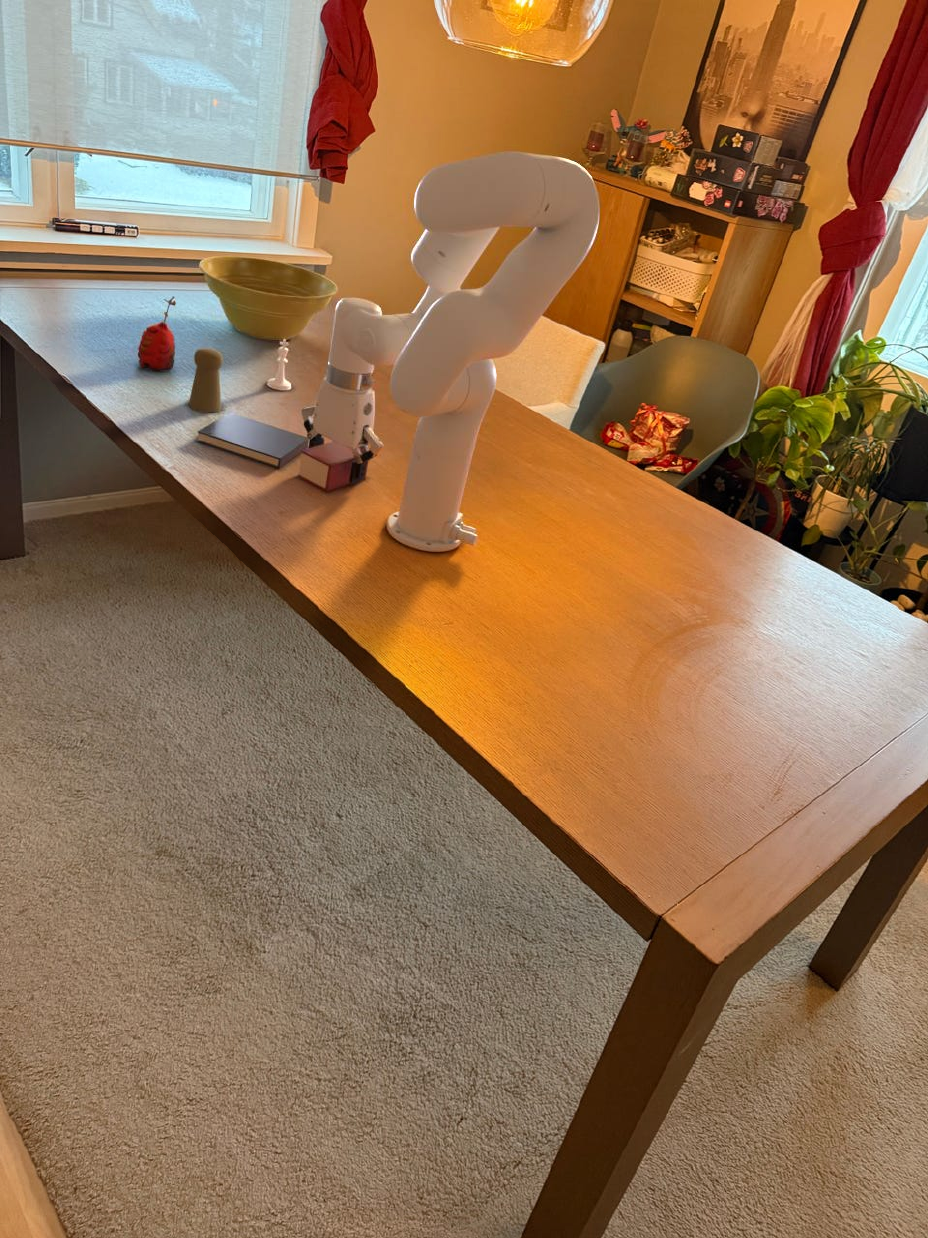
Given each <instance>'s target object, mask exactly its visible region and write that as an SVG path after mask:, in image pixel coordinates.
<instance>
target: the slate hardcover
mask: <svg viewBox="0 0 928 1238" xmlns="http://www.w3.org/2000/svg"><path fill="white" fill-rule="evenodd" d="M197 433H198V439H196V442H197V443H200V444H203V445H206V446H208V447H212V448H214V449H219V450H221V451H224V452H227V453H230V454H234V455H236V456H239V457H242V458H244V459H248V460H251V461H254V462H257V463H261V464H264V465H267V466H270V467H272V468H276V469H282V468H283V467H284V466H285V465H287V464H288V463H289V462H291V461H292V460H293V459H295V458H296V457H298V456H299V455H301V454H302V453H301V450H305V449H308V448H309V441H310V440H309V439H308V438H307V436H304V435H301V434H298V433H295V432H292V431H289V430H286V429H283V428H279V427H276V426H273V425H271V424H268V423H265V422H262V421H259V420H255V419H253V418H249V417H246V416H243V415H239V414H236V413H233V412H231V411H230V412H229V413H227V414H225V415H223V416H222V417H220V418H218V419H216V420H214V421H213V422H211V423H210V424H207V425H206V426H204V427H202V428H200V429H199V430H197Z"/></svg>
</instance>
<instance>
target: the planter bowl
mask: <svg viewBox="0 0 928 1238" xmlns="http://www.w3.org/2000/svg"><path fill="white" fill-rule="evenodd" d="M198 268H199V269H200V271H201V272H202V273H203V275H204V278H205V281H206V284H207V286H208V288H209V290H210V291H211V292H212V293H213V294H214V295H215V296H216V297H217V298H218V299H219V300H218V301H219V304H220V305H221V309H222V310H223V312H224V315H225V316H226V319H227V321H228V322H229V323H230V325H231V326H233V327H234V328H235V329H236V330H237V331H239V332H240V333H241V334H244V335H247V336H250V337H254V338H256V339H262V340H267V341H283V339H286V341H287V340H291V339H293V338H294V337H297V336H299V335H300V334H302V332H303V331H304V330H305V329H306V328H307V326H308V325H309V323H310V322H311V320H312V319H313V317H314V315H316V314H317V313H319V312H322V311H323V310H324V309H326V307H327V306H328V305H329V303H330V301H331V299H332V298H333V296H334V295H337V294H338V292H339V287H338V286H337V284H336V283H335V282H334V281H332V280H331V279H329V278H328V277H326V276H325V275H322V274H320V273H318V272H315V271H313V270H310V269H308V268H304V267H300V266H297V265H294V264H290V263H287V262H282V261H277V260H271V259H267V258H260V257H251V256H241V255H240V256H239V255H220V256H219V255H218V256H212V257H207V258H205V259H202V260H201V261H200V262H199V263H198Z"/></svg>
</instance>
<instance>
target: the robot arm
mask: <svg viewBox="0 0 928 1238" xmlns="http://www.w3.org/2000/svg"><path fill="white" fill-rule="evenodd" d="M413 207H414V212H415V213H414V214H415V217H416V219H417V221H418V222H419V223H420V225H421V227H422V228H424V231H423V233H422V234H421V236H420V238H419V239H418V241H417V243H416V244H415V246H414V247H413V249H412V251H411V255H410V256H411V257H410V260H411V261H410V262H411V264H412V267H413V270H414V271H415V272H416V274H417V275H418V277H419V278H420V279H421V280H422V281H423V283H425V284H426V285H428V286H427V288H426V291H425V293H424V294H423V296H422V297H421V299H420V300H419V302H418V303H417V306H416V307H415V308H414V309H413V311H412V312H409V313H408V312H407V313H395V314H383V311H382V309H381V307H380V306H379V305H378V304H376V303H375V302H373V301H371V300H367V299H364V298H359V297H344V298H341V299H340V300H339V301H337V304H336V306H335V311H334V317H333V325H332V333H331V339H330V347H329V355H328V362H327V368H326V375H325V376H324V377H323V379H322V381H321V384H320V387H319V390H318V393H317V398H316V401H315V405H314V406H308V407H304V408H301V415H302V419H303V421H304V422H303V426H304V428H305V431H306V433H307V434H306V437H307V438H308V439H309V441H308V448H311V447H315V446H318V445H322V444H325V438H326V439H328V440H331V442H332V441H334V442H336V443H339V444H341V445H343V446H345V447H347V448H349V449H351V450H352V453H353V455H354V458H355V460H356V461H354V462H352V467H351V473H350V479H349V481H350V483H352V484H353V485H354V484H356V483H359V482H361V481H363V480H364V479H363V478H364V476H365V471H366V465H367V461H371V460H373V459H374V458H376V457H377V456H378V454H379V453H380V452H381V450H382V449H383V447H384V444H383V443H382V441H381V440H380V438H379V437H378V436H377V435H376V434H375V433H374V427H375V414H376V398H375V395H376V394H375V390H374V389H375V388H376V386H377V381H376V380H374V379H373V377H374V370H375V367H389V366H392V370H391V374H390V380H389V385H390V386H389V387H390V388H389V389H390V394H391V397H392V400H393V402H394V404H395V405H396V406H397V407H398V409H399V410H400V411H401V412H402V413H404V414H406V415H408V416H411V417H414V418H415V417H416V418H419V419H418V422H417V424H416V429H415V432H414V436H413V442H412V447H411V451H410V457H409V462H408V466H407V471H406V476H405V480H404V486H403V491H402V495H401V501H400V504H399V510H398V511H395V512H393V513H392V514H390V515H389V516H388V518H387V520H386V529H387V532H388V534H389V535H390V536H391V537H392V538H393V539H395V540H396V541H397V542H398V543H401V544H402V545H405V546H406V547H409V548H412V549H415V550H419V551H423V552H430V553H431V552H432V553H433V552H434V553H441V552H443V553H444V552H448V551H449V552H450V551H452V550H454V549H456V548H458V547H459V546H460V545H461V542H462V543H464V544H466V545H469V546H471V547H475V546H476V544H477V542H478V539H479V535H478V534H476V533H477V529H476V528H474V527H472V526H470V525H469V526H468V525H466V524H465V523H464V522H463V516H464V514H463V513H462V512H460V508H461V504H462V499H463V496H464V492H465V487H466V483H467V479H468V475H469V470H470V467H471V462H472V459H473V455H474V452H475V451H474V450H475V447H476V443H477V439H478V435H479V432H480V428H481V425H482V422H483V421H484V418H485V416H486V413H487V411H488V409H489V406H490V404H491V402H492V399H493V397H494V394H495V390H496V387H497V386H496V385H497V369H496V365H495V363H494V361H493V360H494V359H499V358H503V357H507V356H509V355H511V354H513V353H514V352H515V351H516V350H517V349H518V348H519V347H520V346H521V344H522V343H523V341H524V340H525V339H526V337H527V336H528V335H529V334H530V332H531V330H532V329H533V328H534V326H535V325H536V324H537V323H538V321H539V320H540V319H541V318H542V316H543V315H544V313H545V312H546V311H547V309H548V308H549V306H550V305H552V302H553V300H554V299H555V298H556V297H557V295H558V294H559V293H560V291H561V290H562V289H563V287H564V286H565V285H566V283H568V281H569V280H570V279H571V278H572V276H573V275H574V274H575V272H576V271H577V270H578V269H579V267H580V266H581V265H582V263H583V261H584V260H585V259H586V257H587V255H588V253H589V252H590V250H591V248H592V246H593V244H594V241H595V238H596V235H597V232H598V228H599V222H600V198H599V193H598V190H597V186H596V184H595V181H594V179H593V177H592V176H591V175H590V173H589V172H588V171H587V170H586V169H585V168H584V167H583V166H581V165H580V164H579V163H577V162H575V161H573V160H570V159H568V158H564V157H560V156H553V155H547V154H538V153H532V152H531V153H530V152H524V151H500V152H494V153H491V154H490V153H489V154H486V155H480V156H477V157H472V158H467V159H462V160H457V161H453V162H448V163H444V164H440V165H437V166H435V167H433V168H431V169H430V170H429V171H428V172H427V173H426V174H425V175H424V176H423V177H422V179H421V180H420V181H419V183H418V186H417V188H416V191H415V193H414V201H413ZM506 227H507V228H509V227H514V228H515V227H516V228H517V227H518V228H533V229H532V231H531V232H530V233H529V234H528V235H527V236H526V237H525V238H523V240H521V241H520V242H519V243H518V244H517V245H516V246H515V247H514V248H513V249H512V250H511V251H510V252H509V253H508V254H507V255H506V257H505V258H504V260H503V262H502V263H501V265H500V266H499V268H498V270H496V272H495V273H494V275H493V276H492V277H491V278H490V280H488V282H487V283H486V284H485V285H483V286H481V287H478V288H466V289H461V286H462V285H463V283H464V281H465V280H466V279H467V277H468V275H469V274H470V272H471V271H472V270H473V268H474V266H475V265H476V263H477V262H478V260H479V259H480V258H481V256H482V255H483V253H484V251H485V250H486V248H487V247H488V246H489V244H490V242H491V241H492V240H493V239H494V237H495V235H496V234H497V232H498V231H499V230H500V228H506ZM369 445H370V448H368V446H369ZM359 448H360V450H361V452H362V455H361V453H360V451H359ZM352 484H351V485H352Z"/></svg>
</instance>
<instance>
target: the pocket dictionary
mask: <svg viewBox="0 0 928 1238" xmlns="http://www.w3.org/2000/svg"><path fill="white" fill-rule="evenodd" d="M359 451H360V453H361V455H362V452H361V450H360V448H359ZM300 455H301V456H300V461H299V462H300V463H299V470H298V474H297V478H299V479H302V480H303V481H305V482H307V483H308V484H311V485H313V486H314V487H316V488H318V489H320V490H322V491H324V492H326V493H330V492H332V491H335V490H338V489H340V488H344V487H346V486H349V485H352V483H350V481H349V479H350V473H351V467H352V462H354V461H356V460H355V458H354V455H353V453H352V450H351V449H349V448H347V447H345V446H343V445H341V444H339V443H336V442H334V441H332V440H331V441H328V442H324V444H322V445H318V446H315V447H311V448H309V447H308V448H307V449H305V450H301V453H300ZM369 461H370V460H369ZM369 461H367V465H366V471H365V476H364V478H363V480H366V477H367V473H368V466H369V463H370V462H369Z"/></svg>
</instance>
